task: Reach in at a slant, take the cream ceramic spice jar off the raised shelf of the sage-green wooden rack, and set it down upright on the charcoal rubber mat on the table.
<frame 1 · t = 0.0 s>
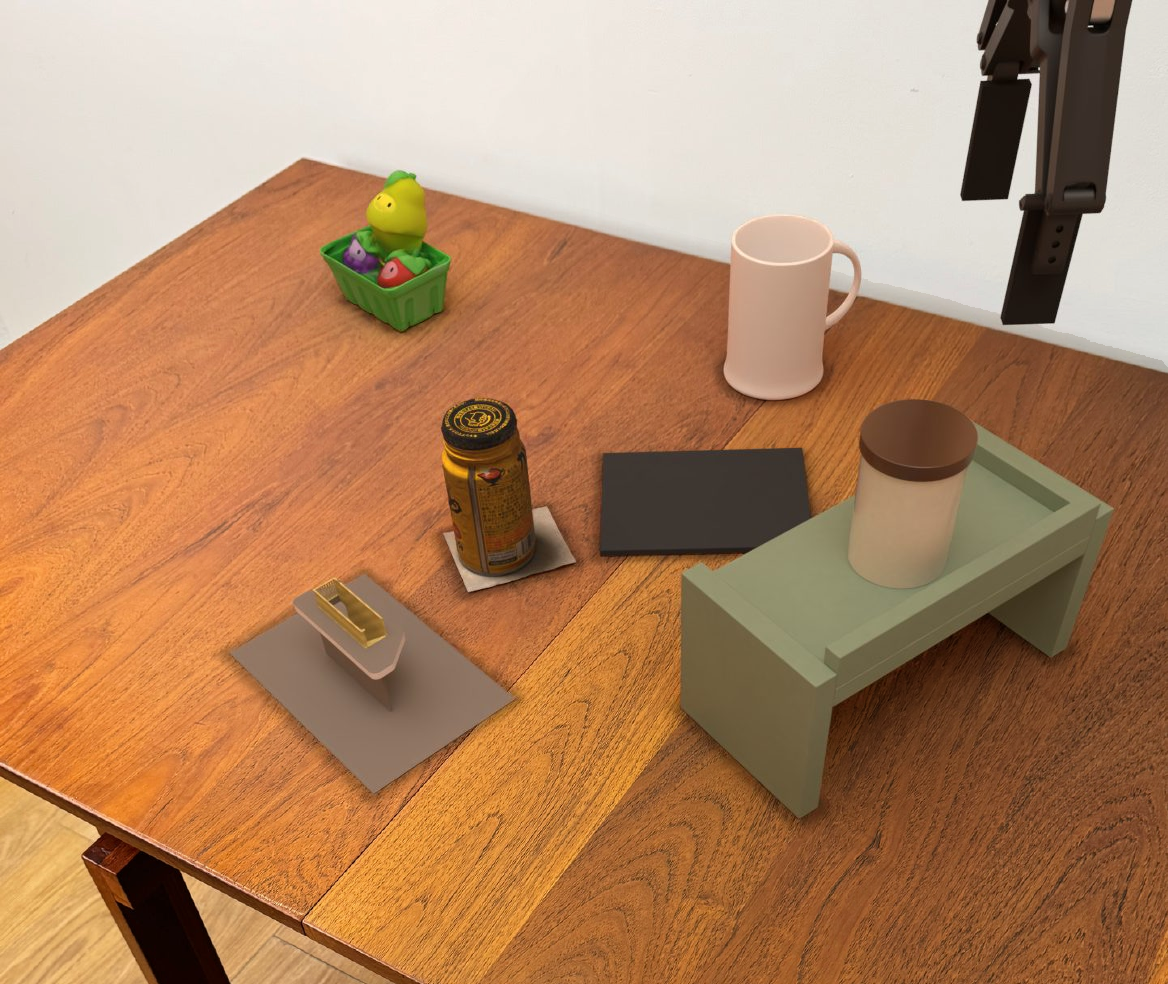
hand: (1004, 255, 71), 25 cm above the table, tool pointing down, fingers open, 13 cm apart
mug: (790, 370, 109), on the table
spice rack: (875, 677, 85), on the table
condiment: (509, 552, 96), on the table
platform: (369, 677, 88), on the table
fruit basket: (399, 304, 119), on the table
mat: (704, 503, 98), on the table
spice jar: (896, 555, 77), point 11 cm above the table, touching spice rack
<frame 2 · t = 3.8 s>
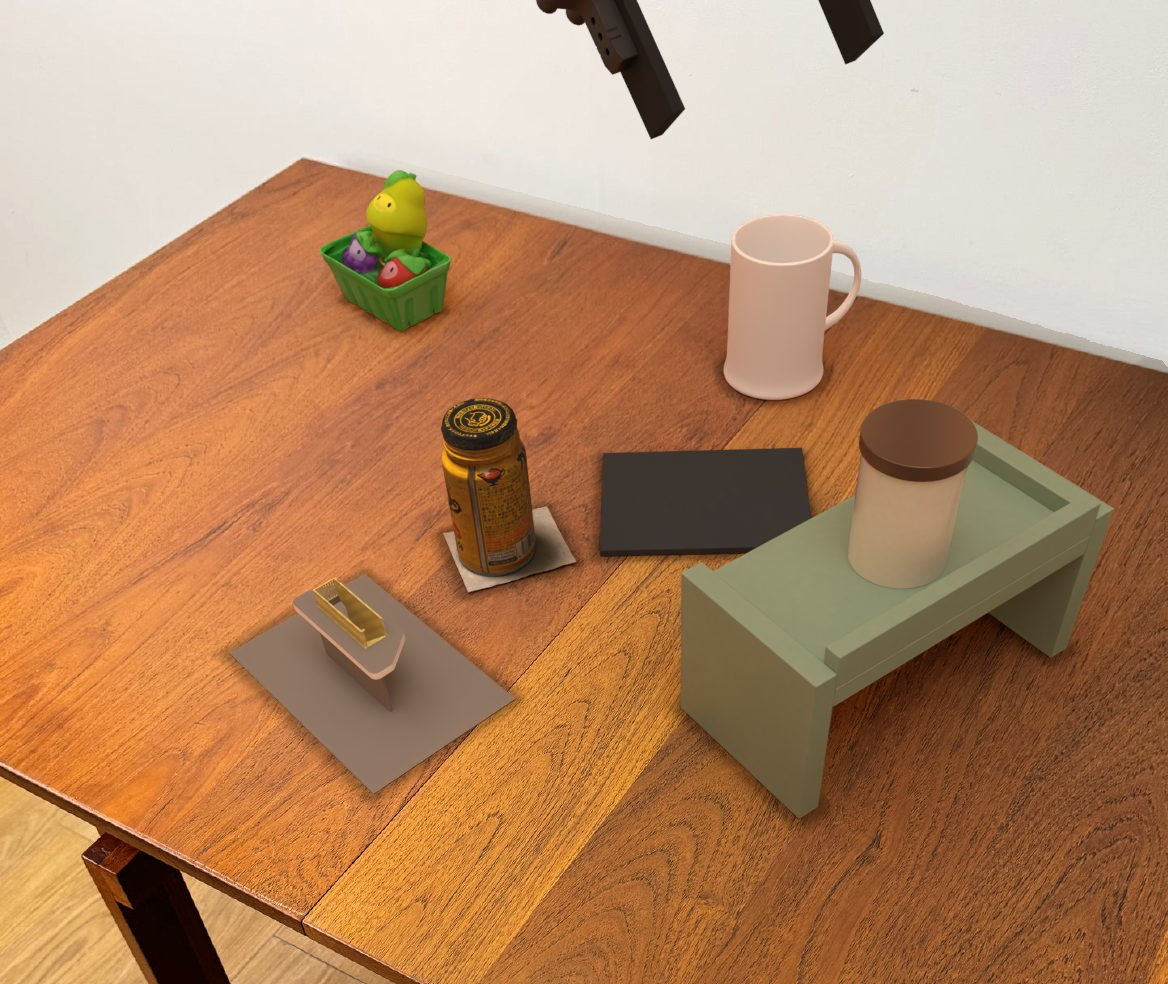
hand: (769, 86, 66), 34 cm above the table, tool tilted 45°, fingers open, 13 cm apart
nothing on the table moved.
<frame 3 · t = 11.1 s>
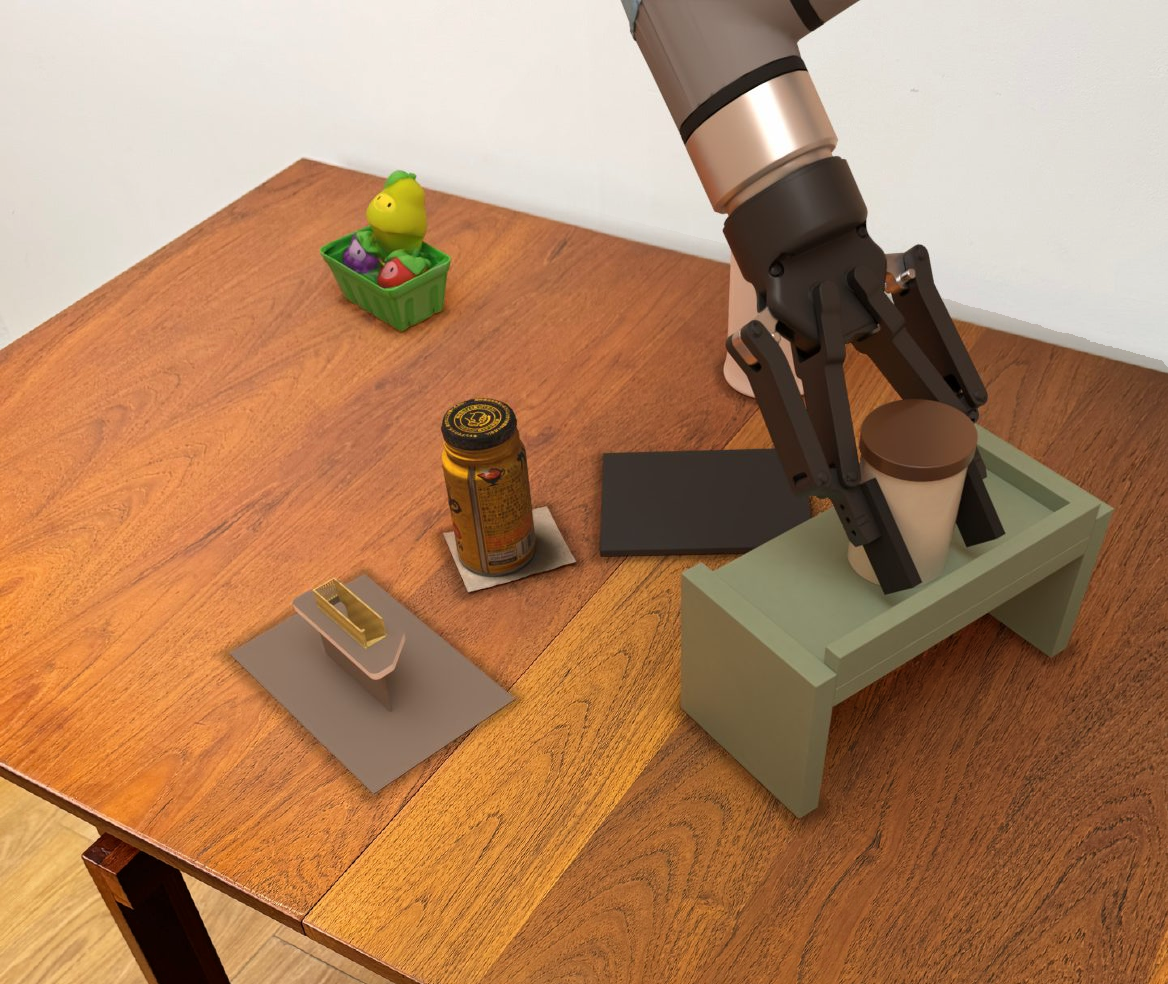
hand: (944, 563, 74), 13 cm above the table, tool tilted 45°, fingers closed on spice jar, 6 cm apart
spice jar: (896, 555, 77), point 11 cm above the table, touching gripper, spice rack
everything else where it was.
when the fingers open (2 cm above the table, at t = 21.8 s): spice jar stays where it is, resting on mat.
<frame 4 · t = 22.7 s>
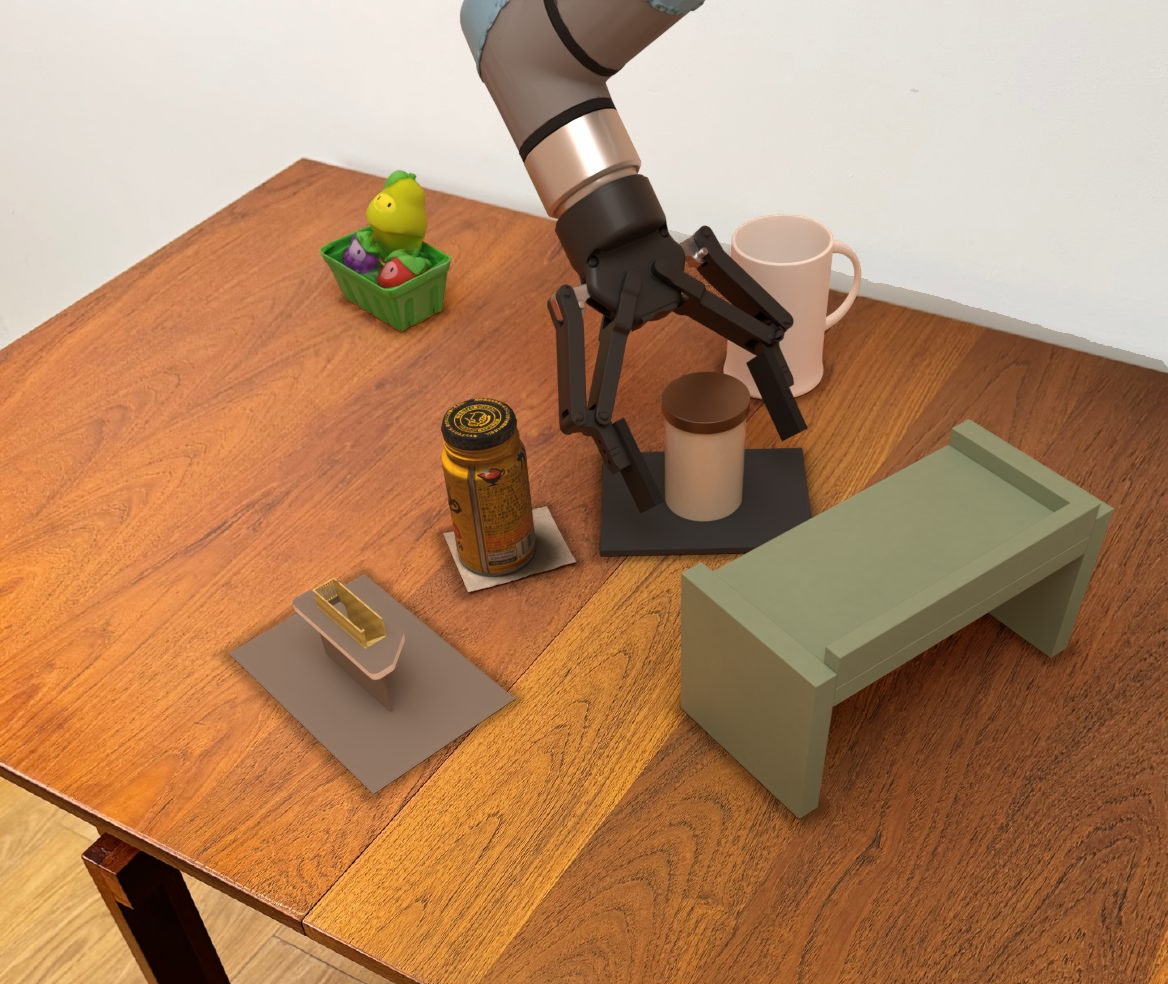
hand: (725, 471, 93), 4 cm above the table, tool tilted 45°, fingers open, 13 cm apart
spice jar: (703, 496, 97), point 1 cm above the table, touching mat
everything else where it was.
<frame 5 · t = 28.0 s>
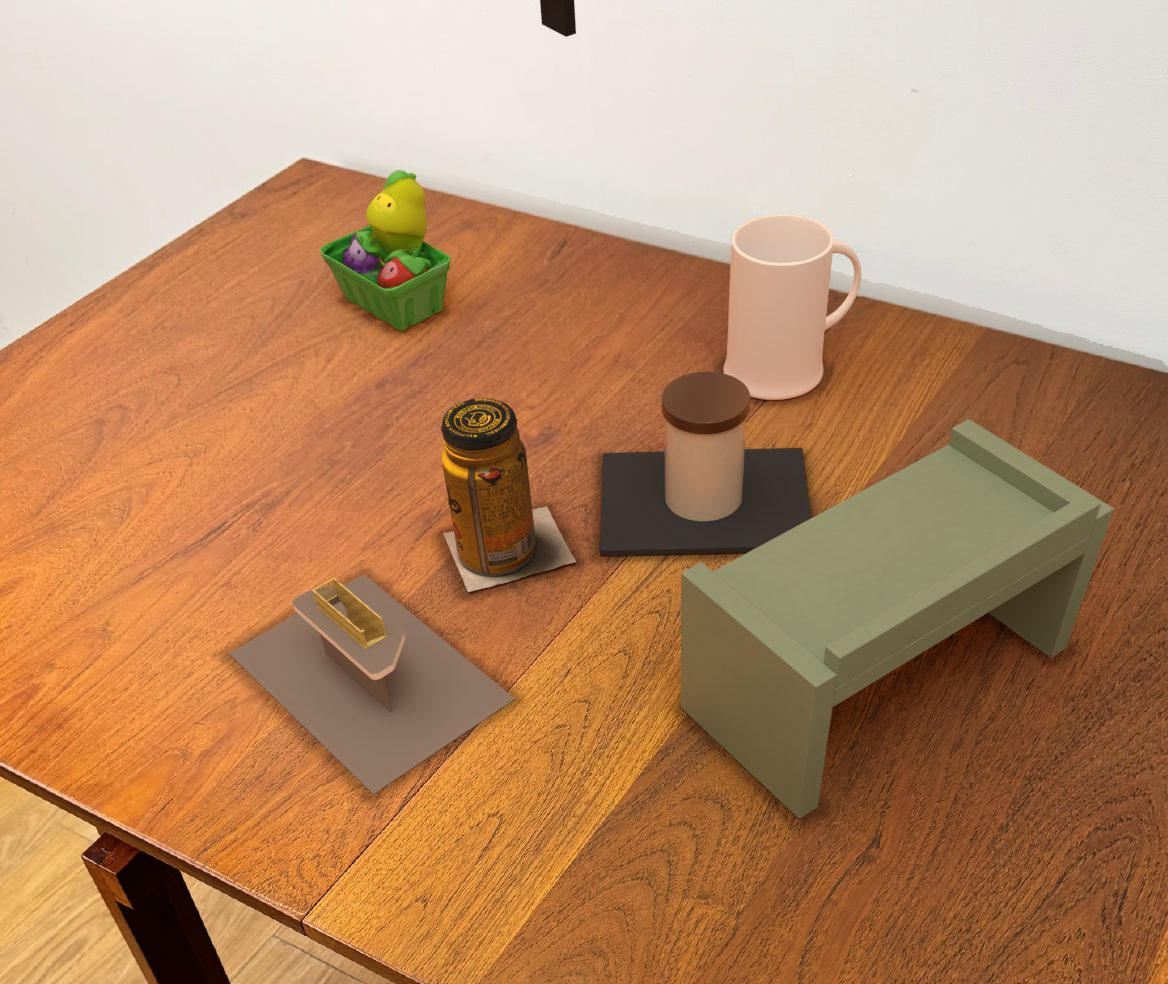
hand: (645, 0, 81), 32 cm above the table, tool pointing down, fingers open, 13 cm apart
nothing on the table moved.
at the end: spice jar inside the target area on the mat (0.1 cm from its centre), point 0.6 cm above the mat's base; spice jar tilted 0°; spice jar touching mat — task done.
